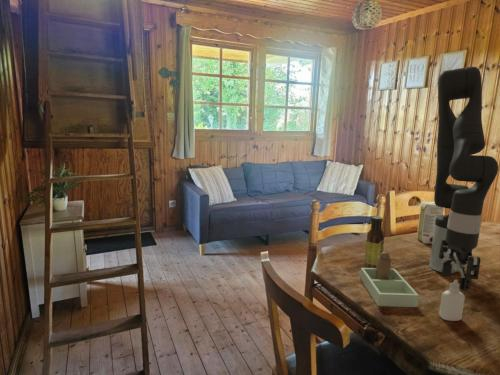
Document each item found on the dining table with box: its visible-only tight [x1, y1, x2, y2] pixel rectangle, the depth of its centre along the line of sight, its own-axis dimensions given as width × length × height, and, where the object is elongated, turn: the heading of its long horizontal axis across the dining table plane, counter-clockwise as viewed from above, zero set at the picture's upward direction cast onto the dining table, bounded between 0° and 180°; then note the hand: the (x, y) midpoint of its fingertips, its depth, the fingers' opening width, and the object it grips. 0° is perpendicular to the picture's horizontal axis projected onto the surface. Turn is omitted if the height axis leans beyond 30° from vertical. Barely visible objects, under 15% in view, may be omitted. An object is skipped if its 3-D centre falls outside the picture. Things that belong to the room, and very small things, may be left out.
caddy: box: [359, 251, 420, 308], centre depth 107 cm, size 12×18×12 cm, turn 179°
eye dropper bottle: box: [438, 278, 466, 322], centre depth 93 cm, size 4×6×12 cm
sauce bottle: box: [364, 215, 385, 268], centre depth 124 cm, size 7×6×20 cm
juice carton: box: [416, 200, 445, 245], centre depth 152 cm, size 8×9×19 cm
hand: (454, 282), depth 92 cm, fingers open, 8 cm apart
